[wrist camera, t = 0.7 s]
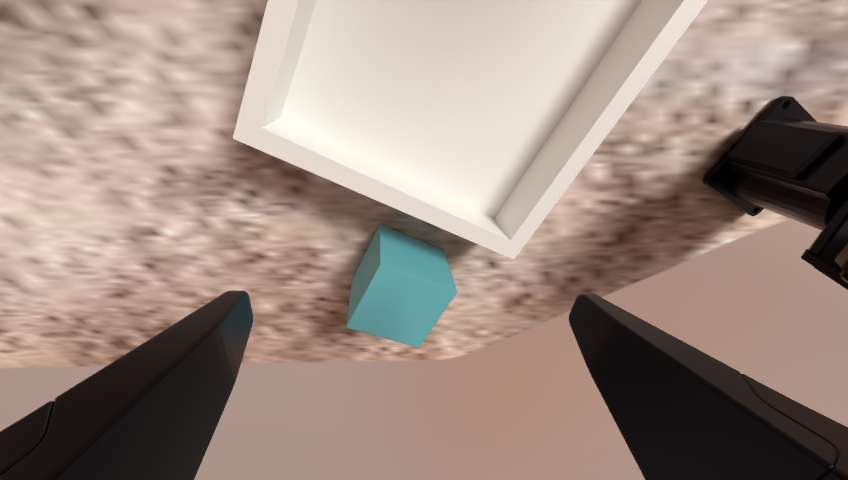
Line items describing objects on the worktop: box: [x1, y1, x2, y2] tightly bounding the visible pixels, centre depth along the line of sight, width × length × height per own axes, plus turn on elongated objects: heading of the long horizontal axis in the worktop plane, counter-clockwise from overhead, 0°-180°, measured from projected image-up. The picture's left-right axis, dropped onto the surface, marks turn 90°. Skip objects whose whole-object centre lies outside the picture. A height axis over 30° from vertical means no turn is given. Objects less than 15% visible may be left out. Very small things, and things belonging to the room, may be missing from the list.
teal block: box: [346, 224, 457, 348], centre depth 21 cm, size 5×5×5 cm
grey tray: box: [233, 0, 708, 260], centre depth 15 cm, size 16×20×4 cm
